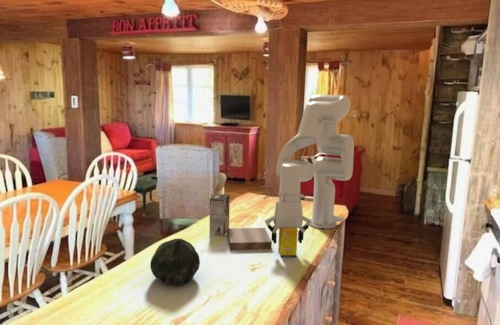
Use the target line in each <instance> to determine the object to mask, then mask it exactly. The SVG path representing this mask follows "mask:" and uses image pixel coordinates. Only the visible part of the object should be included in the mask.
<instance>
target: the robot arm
mask: <svg viewBox="0 0 500 325" xmlns="http://www.w3.org/2000/svg"><path fill="white" fill-rule="evenodd" d="M350 109H351V100H350V98H349V97H348V96H347V95H343V94H314V95H311V96H310V97H309V99H308V103H307V104H306V105H305V107H304V110H303V113H302V117H301V121H300V124H299V127H298V131H297V134H296V135H294V136H293V137H292V138H290V140H288V142H286V144H284V146H283V147H282V149H281V150H280V153H279V156H278V160H277V163H276V173H277V176H278V177H279V191H278V192H279V194H278V199H276V202H275V206H274V214H273V215H272V216H270V217H269V218H267V219H265V220H264V223H265V224H266V226H267V229H268V230H269V231H270V232H271V241H272V242H273V244H277V237H278V236H277V234H278V233H277V231H278V230H279V228H297V229H299V230H298V232H297V242H299V243H300V244H302V243H303V241H304V236H305V234H304V233H305V232H306V231H307V229H309V227H312V228H316V229H321V228H324V229H323V230H327V229H330V230H331V229H334V228H336V227H337V222H344V219H345V218H344V216H339V215H334V212H335V199H336V198H335V197H336V196H335V195H336V188H335V183H334V182H333V180H337V181H349V180H350V179H351V178H352V176H353V171H354V156H355V155H354V153H355V142H354V138H353V137H352V136H351V135H350V134H345V133H339V132H338V123H340V122H341V121H342V120H343V119H344V118H345V117H346V116H347V115H348V113H349V111H350ZM314 144H316V147H317V151H318V152H319V153H320V154H322V155H327V156H318V157H317V158H315V159H314V161H313V163H311V162H309V161H303V160H298V159H297V160H296V159H291V157H292V156H293V154H294V153H295V152H297V151H298V150H300V149H303V148H306V147H308V146H309V147H310V146H312V145H314ZM328 155H329V156H328ZM331 156H337V157H331ZM338 156H339V157H338ZM312 178H313V181H314V182H313V197H312V198H313V199H312V200H313V201H312V218H311V219H310V218H308V217H307V216H304V215H303V214H304V213H303V206H302V205H303V203H302V200H301V199H303V198H304V196H305V194H303V193H301V183H302V182H309V181H311V180H312ZM272 222H273V224H274V225H273V226H272V225H271V223H272ZM303 222H305V224H304V225H303Z"/></svg>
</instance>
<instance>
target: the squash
mask: <svg viewBox="0 0 500 325" xmlns="http://www.w3.org/2000/svg"><path fill="white" fill-rule="evenodd" d="M200 265H201V261H200V255H199V254H198V252H197V250H196V248H195V247H194V245H193V244H192V243H191V242H189V241H187V240H185V239H184V238H173V239H171V240H167V241H165V242H163V243H160V245H158V246H157V248H156V250H155V252H154V254H153V255H152V257H151V259H150V271H151V274H152V275H153V276H154V277H155V279H158V280H159V281H160V282H161V283H167V284H172V283H173V284H174V285H176V286H181V285H182V284H187V283H189V282H190V281H191V280H192V279H193V278H194V276H195V275H196V273H197V272H198V270H199V268H200Z"/></svg>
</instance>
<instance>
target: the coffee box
mask: <svg viewBox="0 0 500 325" xmlns="http://www.w3.org/2000/svg"><path fill="white" fill-rule="evenodd" d="M230 199H231V198H230V194H222V193H215V194H214V195H213V196H212V197H210V198H209V236H210V237H219V238H224V237H225V236H227V229H228V228H230Z"/></svg>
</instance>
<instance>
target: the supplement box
mask: <svg viewBox="0 0 500 325" xmlns="http://www.w3.org/2000/svg"><path fill="white" fill-rule="evenodd" d="M298 229H299V228H279V229H278V230H279V231H278V253H279V256H280V258H297V249H298V248H297V246H298V231H299V230H298Z"/></svg>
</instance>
